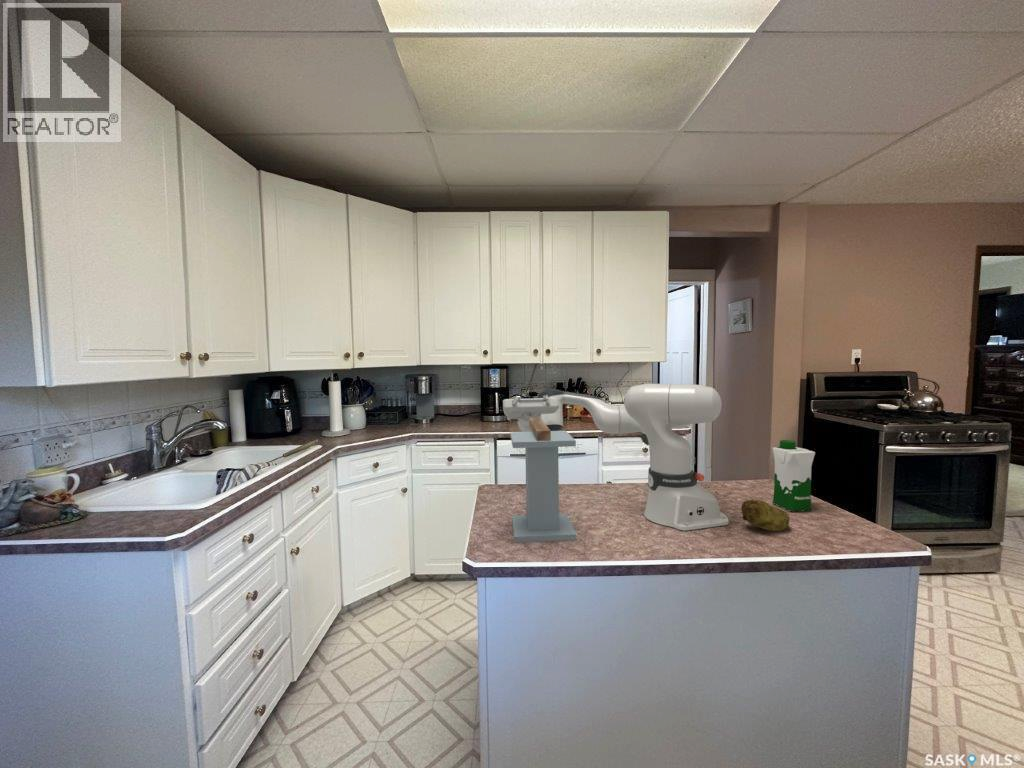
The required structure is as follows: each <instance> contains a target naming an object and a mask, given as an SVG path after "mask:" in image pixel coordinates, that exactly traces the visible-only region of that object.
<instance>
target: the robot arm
mask: <svg viewBox="0 0 1024 768" xmlns="http://www.w3.org/2000/svg"><path fill="white" fill-rule="evenodd" d="M623 403H624V405H623V404H622V405H619V404H618V405H614V404H610V403H607V402H606V401H604V400H603V398H601V397H599V396H595V395H590V394H583V393H579V392H577V393H576V392H569V391H565V390H561V389H556V388H548V387H547V388H544V389H542V391H540V392H539V394H538V395H537V398H521V396H520V395H516V396H515V398H506V399H505V398H504V399H503V400H502V410H503V413H504V415H505V416H506V419H507V421H511V422H517V426H518V428H519V430H520V432H532V430H531V429H530V427H529V418H541V419H542V421H543V422H544V423H545V424H546V426H547V427H548V428H549V429H550V431H562V430H563V429H564V416H563V415H564V414H563V405H564V404H565V405H571V406H572V405H573V406H578V407H582V408H585V409H586V410H587V411H588V412H589V414H590V416H591V417H592V420H593V422H594V425H595V426H596V427H597V428H598V429H599V430H600V431H602V433H605V434H610V435H611V434H612V435H621V434H622V435H625V434H626V435H627V434H635V433H641V434H638V435H637V438H640V440H641V441H642V442H643V443H644V445H646V446H648V447H649V467H648V474H647V483H648V488H649V489H648V496H647V501H646V505H645V508H644V513H643V515H644V517H645V518H646V519H647V520H649V521H651V522H652V523H654V524H657V525H661V526H665V527H672V528H674V529H676V530H680V531H684V532H685V531H691V530H692V531H693V530H699V529H707V528H714V527H715V528H716V527H720V526H728V525H729V523H730V522H729V521H730V520H729V518H728V516H727V515H726V514H724V513H723V512H722V511H720V506H719V502H718V500H717V498H716V497H715V496H714V495H713V494H712V493H711V492H709V491H708V490H706V489H705V488H704V487H703V486H702V485H700V484H699V483H698V482H701V483H702V482H703V481H704V480H705V476H704V474H702V473H700V472H696V471H694V470H692V446H691V443H690V442H689V441H688V440H687V439H686V438H685V437H684V436H682V435H680V434H678V433H676V432H674V431H673V429H676V430H677V429H678V430H680V429H685V428H688V427H689V426H691V425H694V424H704V423H711V422H713V421H715V420H716V419H717V418H718V417H719V416H720V413H721V411H722V403H723V402H722V399H721V396H720V394H719V393H718V391H717V390H716V389H715V388H714V387H712V386H707V385H703V384H702V385H701V384H694V383H693V384H692V383H689V384H688V383H685V384H684V383H641V384H636V385H632V386H631V387H630V388H629V389H628V390H627V392H626V393H625V396H624V402H623Z"/></svg>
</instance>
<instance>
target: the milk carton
mask: <svg viewBox="0 0 1024 768" xmlns="http://www.w3.org/2000/svg"><path fill="white" fill-rule="evenodd" d="M772 453H773V459H774V480H773V481H774V484H773V486H774V487H773V495H772V496H773V497H772V504H773V503H775V504H777V505H779V506H781V507H783V508H785V509H787V510H790V511H801V512H803V511H802V510H812V511H813V508H812V507H813V506H812V497H811V496H812V494H811V493H812V492H811V491H812V489H811V488H812V466H813V462H814V458H815V455H816V452H815V451H813V450H809V449H807V448H803V447H797V446H796V441H794V440H787V439H781V440H780V441H779V446H775V447H772ZM781 507H780V508H781ZM783 508H782V509H783ZM785 509H784V510H785ZM787 510H786V511H787ZM790 511H789V512H790Z"/></svg>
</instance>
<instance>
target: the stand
mask: <svg viewBox="0 0 1024 768" xmlns="http://www.w3.org/2000/svg"><path fill="white" fill-rule="evenodd" d="M509 436H510V440H511V446H512V448H513V449H525V450H524V451H525V454H524V455H525V501H526V502H525V503H526V505H525V506H526V512H525V513H526V514H517V515H515V514H514V515H511V524H512V531H513V540H514V543H534V542H558V541H559V542H560V541H562V542H563V541H564V542H565V541H577V539H578V538H577V533H576V531H575V529H574V526H573V524H572V522H571V520H570V518H569V516H568V513H567V512H566V513H560V501H559V500H560V491H559V490H560V488H559V486H560V484H559V483H560V482H559V481H560V480H559V477H560V473H559V472H560V471H559V448H565V447H566V448H567V447H569V448H572V447H576V446H577V444H576V443H577V440H576V439H575V438H574V437H573V436H572V435H571V434H570V433H568V432H567V430H561V431H551V440H549V441H537V440H536V438H535V436H534V434H533V432H523V431H510V435H509Z"/></svg>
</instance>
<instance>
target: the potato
mask: <svg viewBox="0 0 1024 768" xmlns="http://www.w3.org/2000/svg"><path fill="white" fill-rule="evenodd" d="M740 507H741V514H742V519H743V520H744V521H746V522H748V523H749V524H750V525H751V526H754V527H758V528H761V529H763V530H765V531H769V532H780V531H781V532H782V531H783V530H784V531H785V529H787V528H788V526H789V524H790V520H791V519H790V516H789V514H788V513H787V512H785V511H784V509H783V510H782V509H780V508H778V507H774V506H772V505H771V504H769V503H768V502H766V501H763V500H761V499H754V498H752V499H748V500H745V501H743V503H742V504H741V506H740Z"/></svg>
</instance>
